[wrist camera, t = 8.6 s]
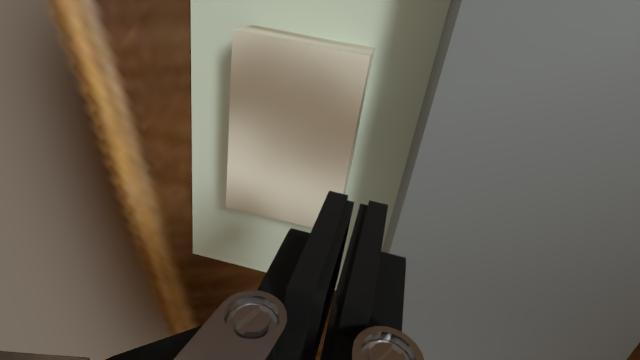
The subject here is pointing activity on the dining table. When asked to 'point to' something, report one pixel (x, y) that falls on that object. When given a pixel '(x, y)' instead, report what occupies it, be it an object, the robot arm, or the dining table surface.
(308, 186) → the cream tile
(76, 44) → the dining table surface
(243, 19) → the sage mat
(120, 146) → the dining table surface
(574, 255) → the slate deck
